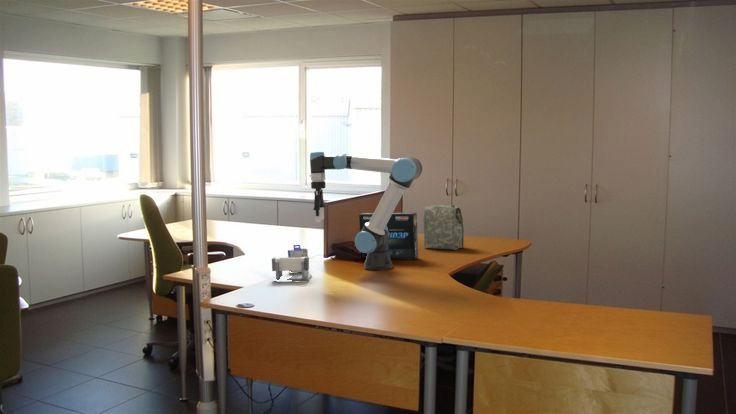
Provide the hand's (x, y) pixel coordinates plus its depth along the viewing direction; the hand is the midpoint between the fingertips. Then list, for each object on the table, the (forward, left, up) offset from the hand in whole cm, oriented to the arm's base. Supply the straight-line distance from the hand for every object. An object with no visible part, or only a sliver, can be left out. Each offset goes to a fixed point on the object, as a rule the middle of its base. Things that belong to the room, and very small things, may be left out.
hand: (319, 221), depth 364 cm
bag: (-68, -68, -27) cm, 100 cm away
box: (-35, -34, -27) cm, 56 cm away
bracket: (+12, +23, -27) cm, 37 cm away
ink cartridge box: (+12, +3, -27) cm, 30 cm away
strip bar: (+13, +23, -22) cm, 34 cm away
